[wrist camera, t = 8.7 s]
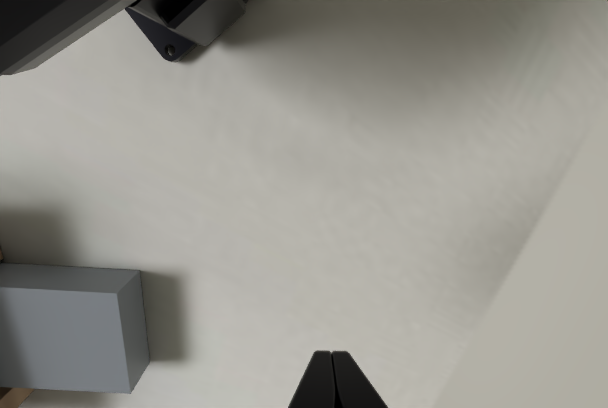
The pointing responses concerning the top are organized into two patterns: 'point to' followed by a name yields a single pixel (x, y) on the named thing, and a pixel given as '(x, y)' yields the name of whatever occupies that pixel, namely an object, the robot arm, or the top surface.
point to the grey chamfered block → (71, 328)
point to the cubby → (12, 391)
